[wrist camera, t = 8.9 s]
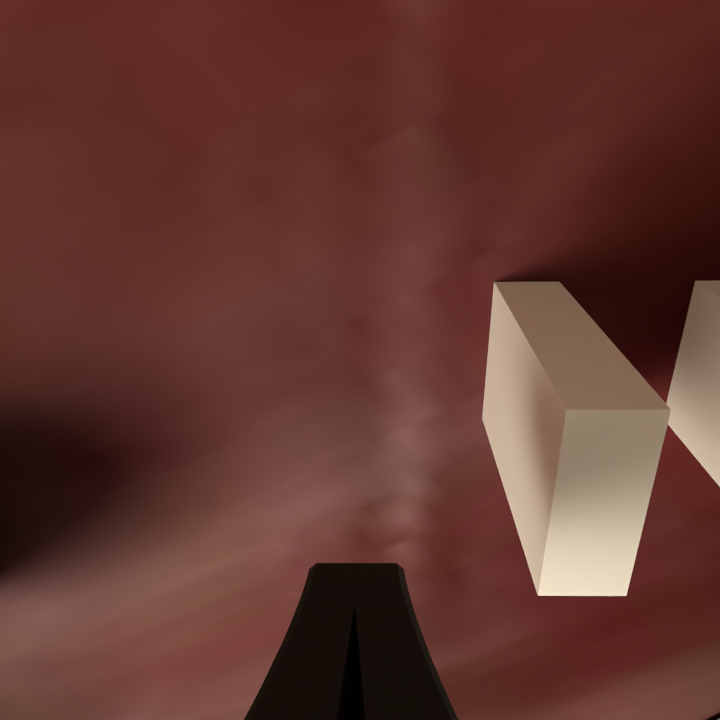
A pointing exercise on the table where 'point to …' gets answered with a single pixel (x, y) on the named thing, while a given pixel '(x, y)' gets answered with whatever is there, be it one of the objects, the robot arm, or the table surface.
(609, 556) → the domino
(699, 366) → the domino
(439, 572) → the table surface
